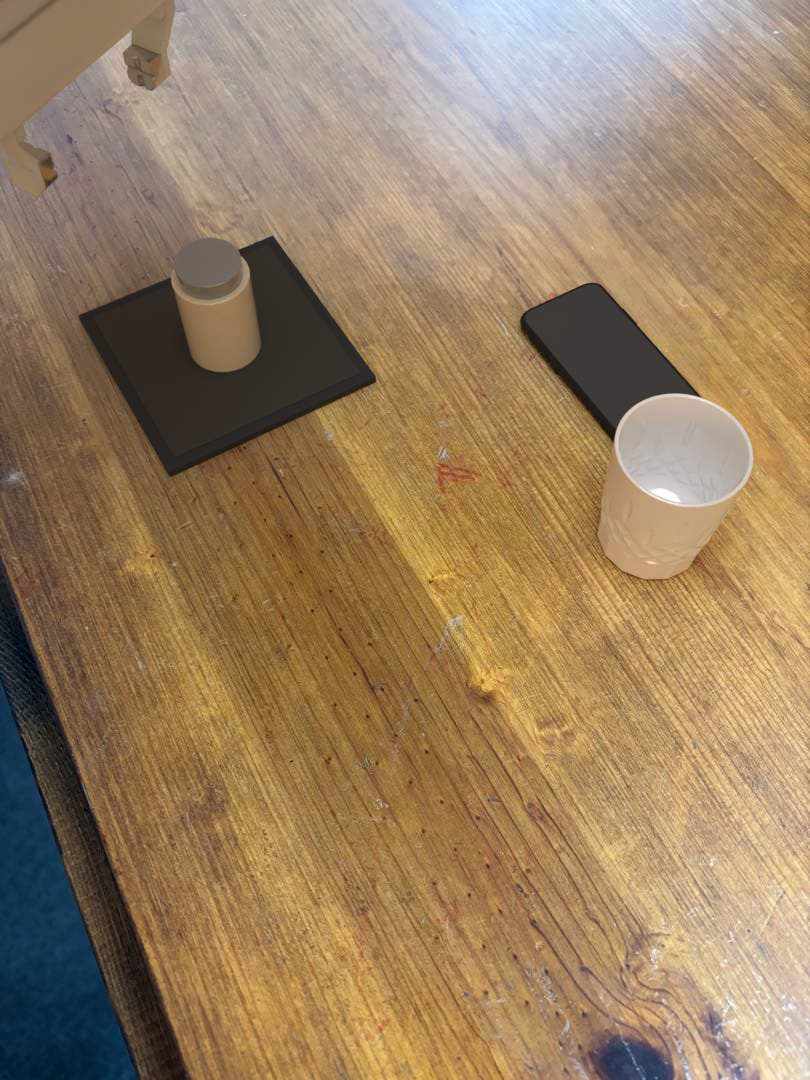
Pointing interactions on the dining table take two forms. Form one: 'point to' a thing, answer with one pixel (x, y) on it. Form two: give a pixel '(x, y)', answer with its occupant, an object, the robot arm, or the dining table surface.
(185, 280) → the salt shaker
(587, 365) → the smartphone
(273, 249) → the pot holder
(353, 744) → the dining table surface
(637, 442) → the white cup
